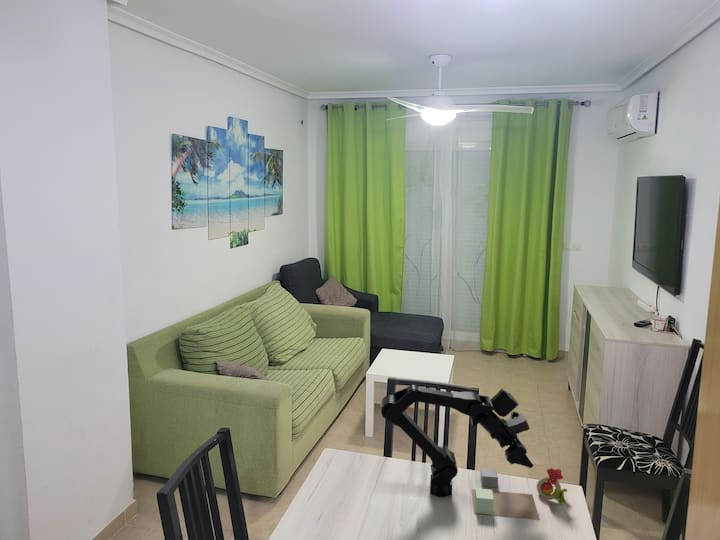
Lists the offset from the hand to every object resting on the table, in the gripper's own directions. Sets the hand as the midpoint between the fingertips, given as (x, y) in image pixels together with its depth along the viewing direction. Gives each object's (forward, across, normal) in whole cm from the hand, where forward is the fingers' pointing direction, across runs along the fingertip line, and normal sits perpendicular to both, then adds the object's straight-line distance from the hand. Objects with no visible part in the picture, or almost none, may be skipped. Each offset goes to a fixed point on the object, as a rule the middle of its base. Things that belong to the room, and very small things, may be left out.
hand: (528, 458), depth 171 cm
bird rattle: (+16, 0, +4) cm, 16 cm away
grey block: (+2, +7, +17) cm, 19 cm away
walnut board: (+4, -5, +16) cm, 17 cm away
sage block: (-2, -8, +19) cm, 21 cm away
